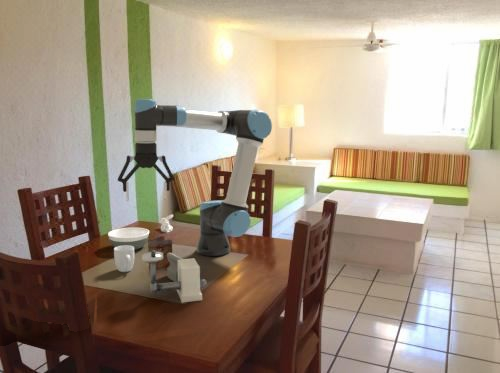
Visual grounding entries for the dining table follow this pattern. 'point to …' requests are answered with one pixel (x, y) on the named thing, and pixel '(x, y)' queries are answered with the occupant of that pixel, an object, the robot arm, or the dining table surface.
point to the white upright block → (189, 280)
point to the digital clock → (173, 267)
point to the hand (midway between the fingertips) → (146, 200)
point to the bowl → (129, 237)
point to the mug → (124, 257)
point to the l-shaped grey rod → (154, 287)
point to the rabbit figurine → (166, 224)
